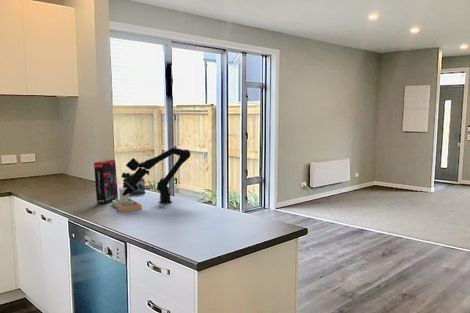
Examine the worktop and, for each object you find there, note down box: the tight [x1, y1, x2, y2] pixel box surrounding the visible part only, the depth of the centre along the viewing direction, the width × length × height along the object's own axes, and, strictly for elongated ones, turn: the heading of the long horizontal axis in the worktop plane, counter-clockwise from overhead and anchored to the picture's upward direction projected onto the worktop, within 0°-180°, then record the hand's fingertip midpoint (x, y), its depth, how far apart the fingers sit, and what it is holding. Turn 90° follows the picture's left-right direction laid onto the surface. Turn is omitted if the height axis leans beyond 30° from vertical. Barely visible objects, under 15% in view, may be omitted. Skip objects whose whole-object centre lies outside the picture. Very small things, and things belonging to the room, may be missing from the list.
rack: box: [111, 197, 143, 213], centre depth 248 cm, size 23×12×3 cm, turn 31°
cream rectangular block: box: [119, 187, 129, 203], centre depth 252 cm, size 4×6×11 cm
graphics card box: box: [93, 159, 119, 205], centre depth 263 cm, size 17×7×27 cm, turn 168°
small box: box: [129, 177, 146, 195], centre depth 290 cm, size 11×6×10 cm, turn 112°
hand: (121, 194), depth 251 cm, fingers open, 7 cm apart
